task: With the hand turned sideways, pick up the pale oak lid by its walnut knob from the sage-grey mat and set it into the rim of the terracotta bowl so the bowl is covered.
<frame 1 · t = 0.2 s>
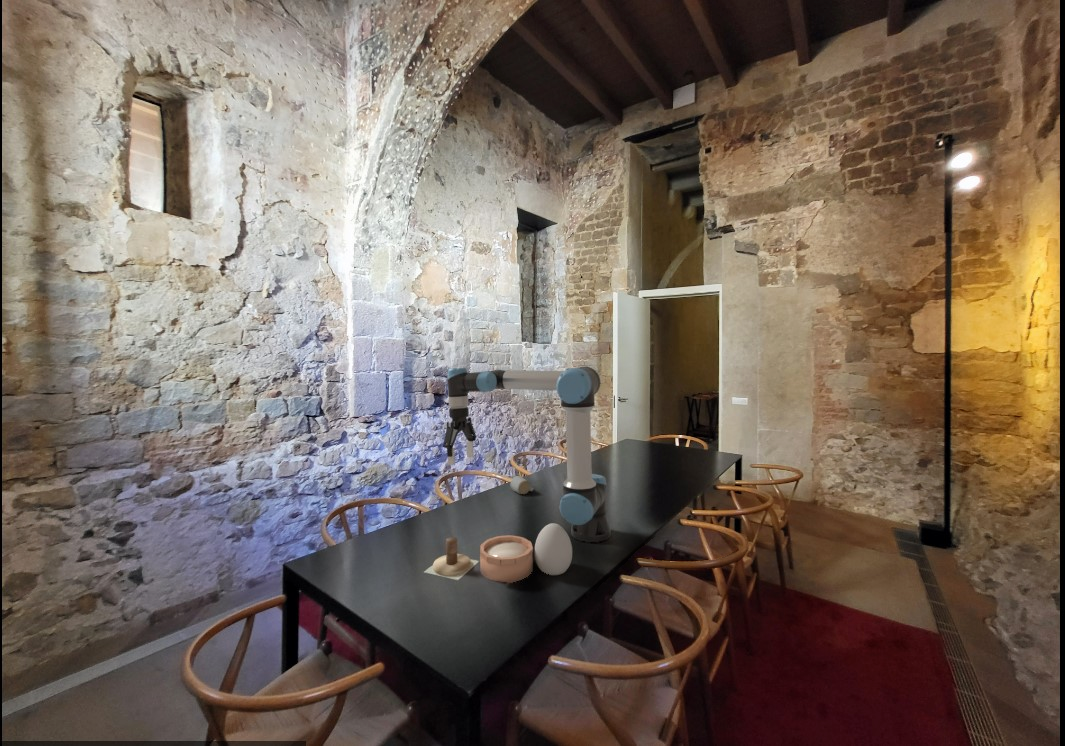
hand: (461, 460, 174), 28 cm above the table, tool pointing down, fingers open, 13 cm apart
sage mat: (452, 568, 145), on the table
ceramic mug: (522, 492, 220), on the table
decorative egg: (553, 569, 144), on the table
terracotta bowl: (506, 569, 144), on the table
oak lid: (452, 566, 145), point 1 cm above the table, touching sage mat
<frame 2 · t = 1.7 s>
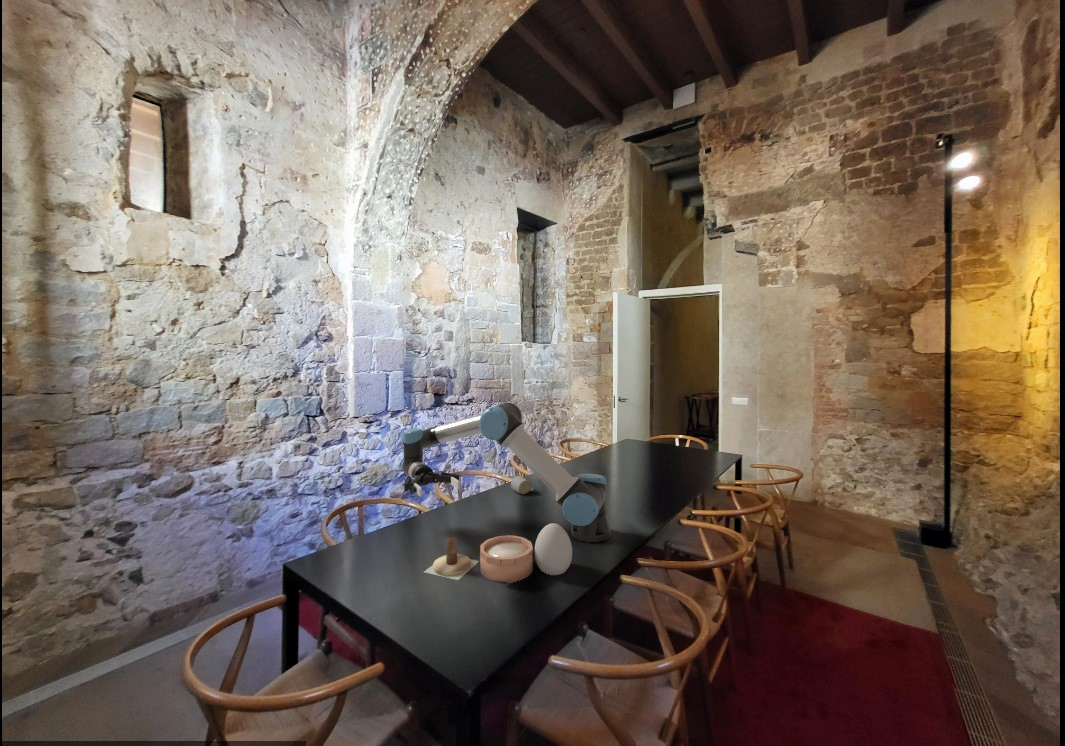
hand: (440, 488, 152), 24 cm above the table, tool horizontal, fingers open, 13 cm apart
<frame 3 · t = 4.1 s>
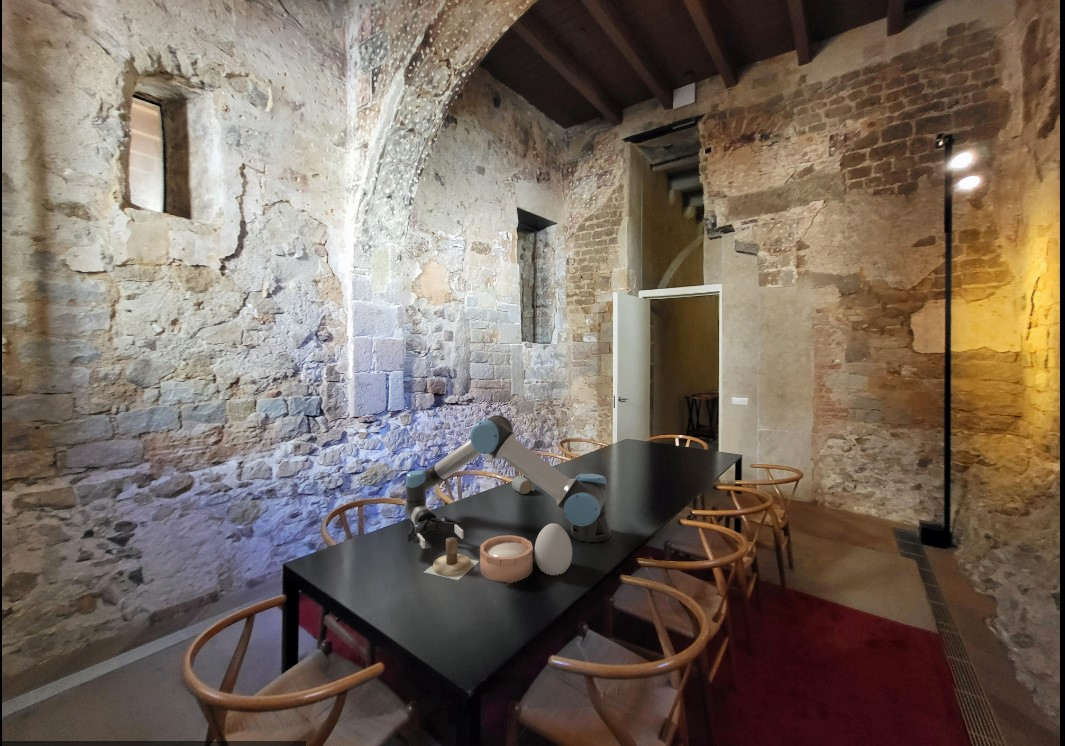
hand: (443, 539, 150), 7 cm above the table, tool horizontal, fingers open, 13 cm apart
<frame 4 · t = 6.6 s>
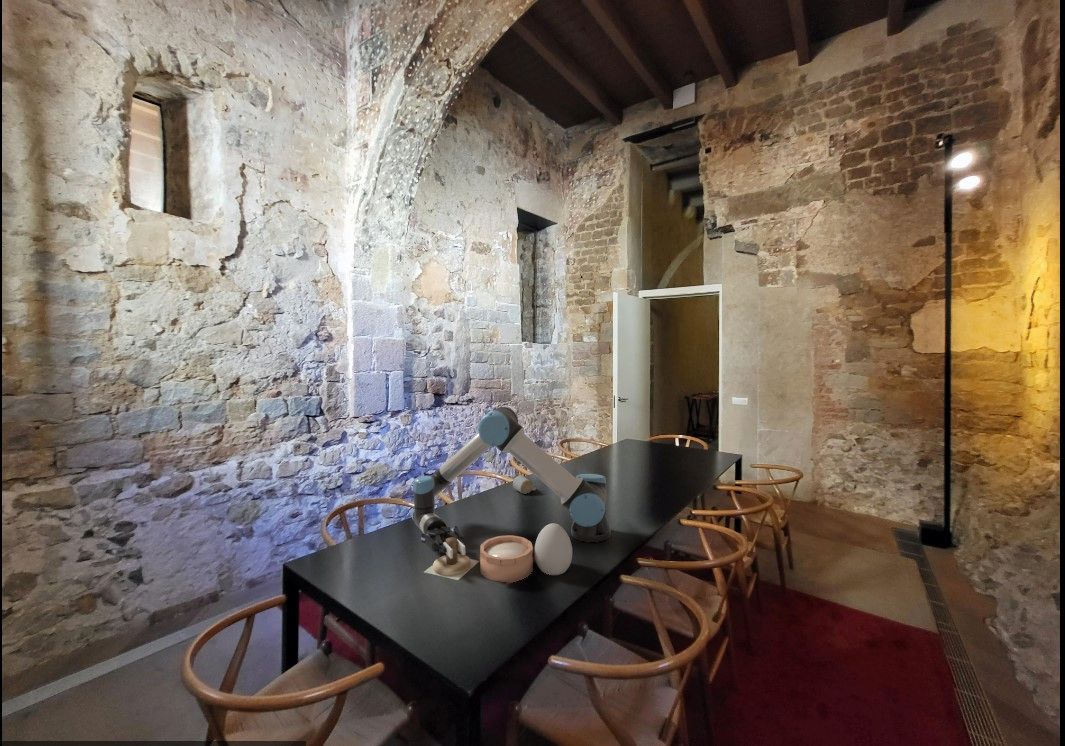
hand: (457, 552, 140), 7 cm above the table, tool horizontal, fingers closed on oak lid, 3 cm apart
oak lid: (452, 566, 145), point 1 cm above the table, touching gripper, sage mat
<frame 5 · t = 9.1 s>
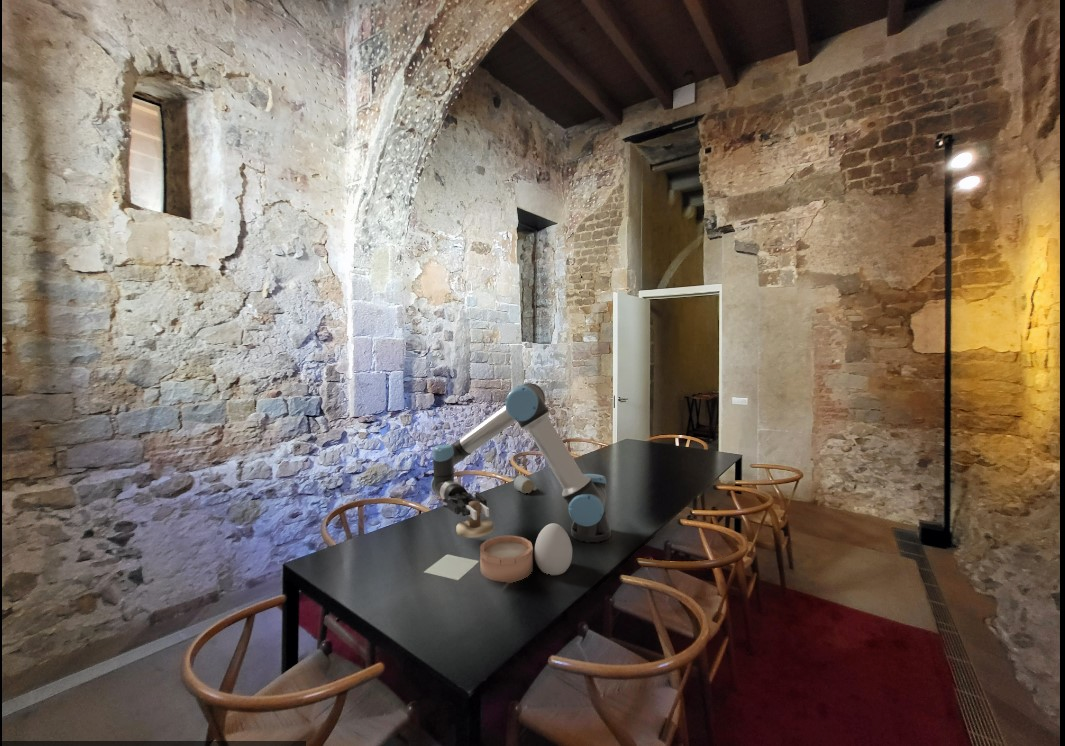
hand: (481, 514, 139), 20 cm above the table, tool horizontal, fingers closed on oak lid, 3 cm apart
oak lid: (475, 529, 144), point 13 cm above the table, touching gripper
when the fingers open (13 cm above the table, at t = 11.6 s): oak lid stays where it is, resting on terracotta bowl.
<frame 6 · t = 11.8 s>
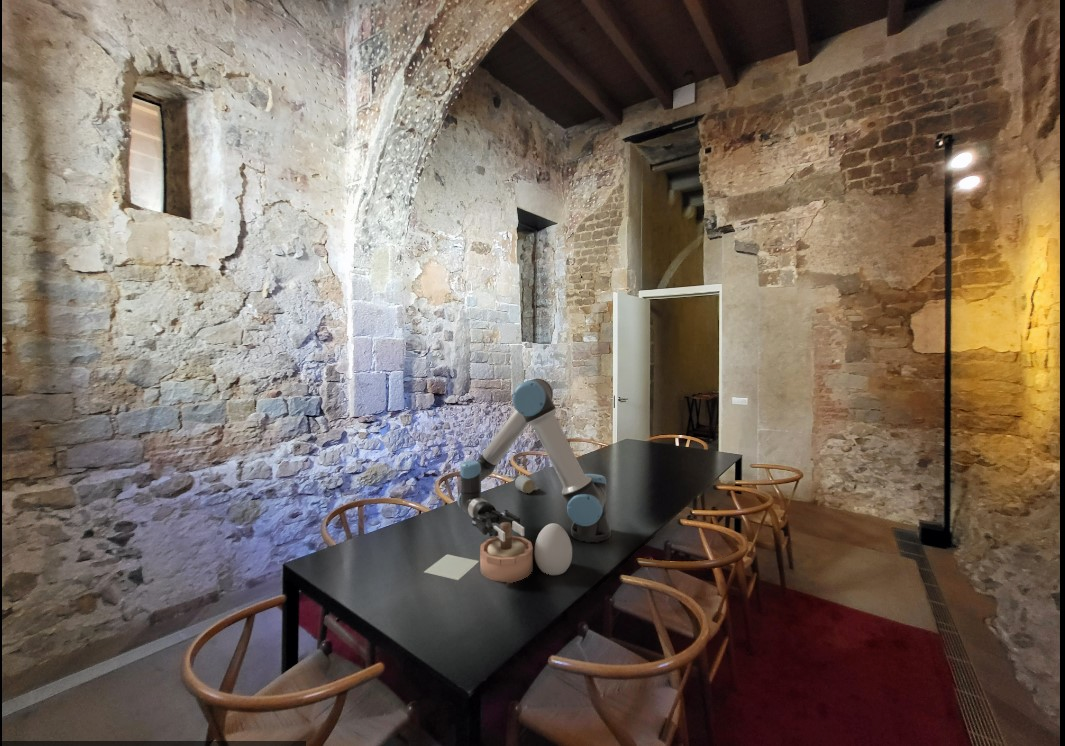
hand: (513, 534, 139), 14 cm above the table, tool horizontal, fingers open, 6 cm apart
oak lid: (506, 551, 144), point 6 cm above the table, touching terracotta bowl
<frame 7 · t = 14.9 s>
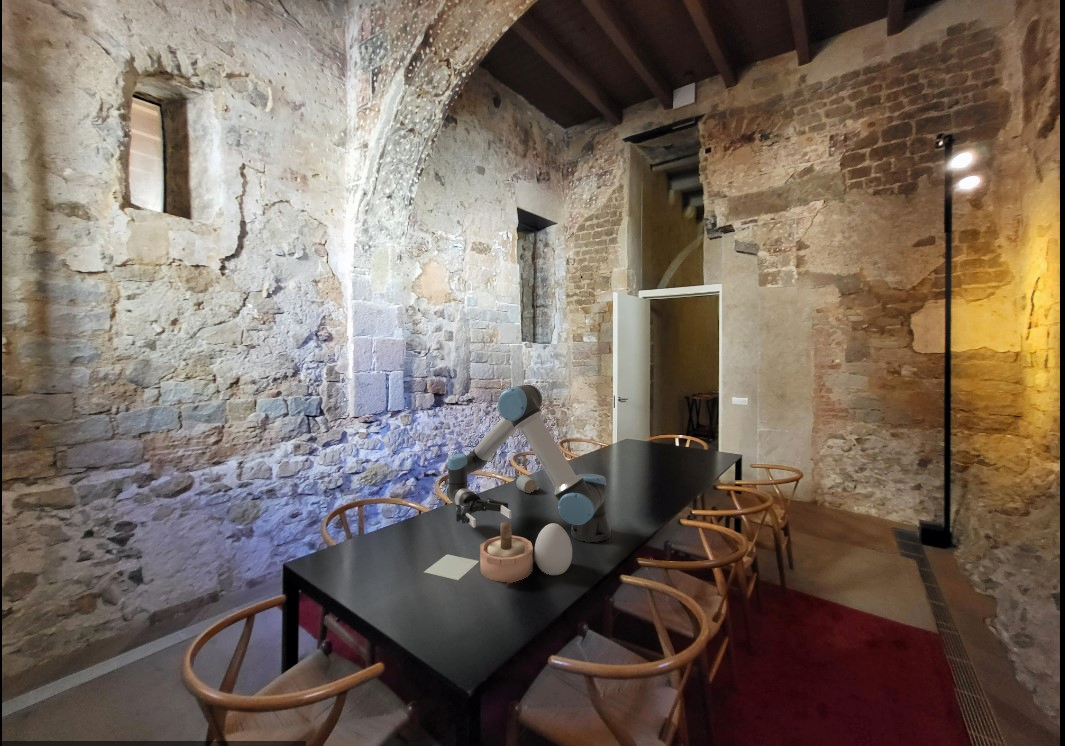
hand: (492, 519, 151), 14 cm above the table, tool horizontal, fingers open, 13 cm apart
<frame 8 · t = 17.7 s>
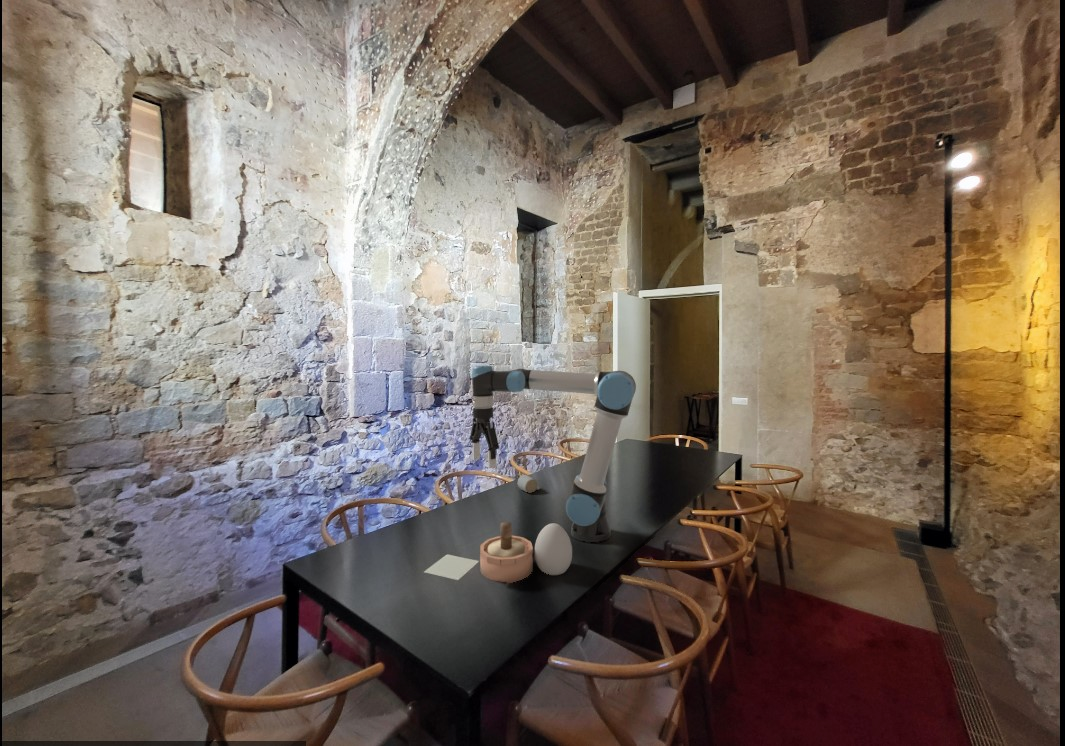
hand: (484, 463, 166), 29 cm above the table, tool pointing down, fingers open, 13 cm apart
at the end: oak lid 0.0 cm off-centre on the terracotta bowl, point 6.0 cm above the terracotta bowl's base; oak lid tilted 0°; the gripper is holding nothing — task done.
